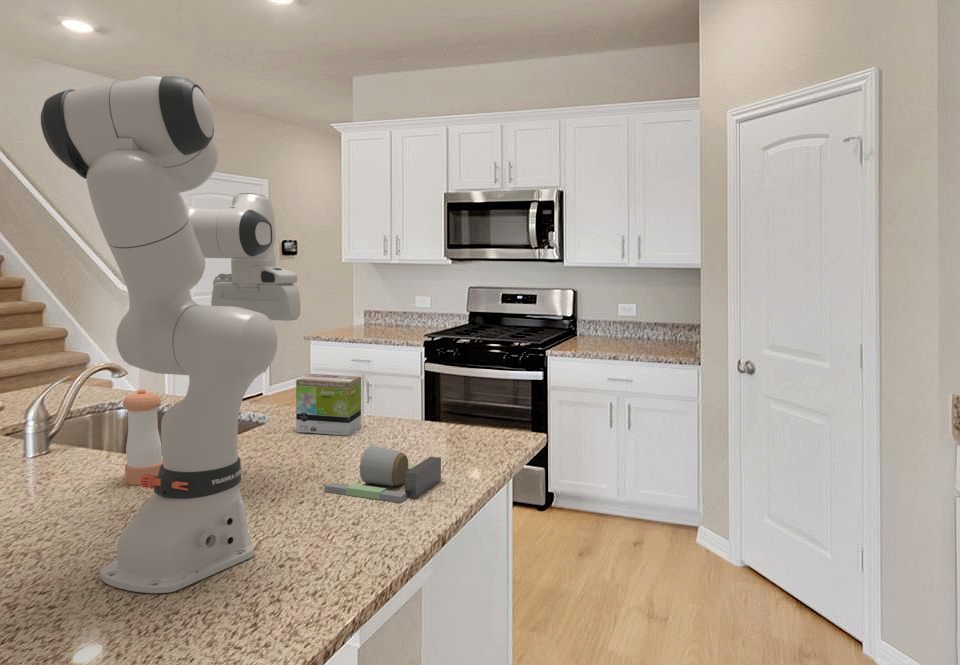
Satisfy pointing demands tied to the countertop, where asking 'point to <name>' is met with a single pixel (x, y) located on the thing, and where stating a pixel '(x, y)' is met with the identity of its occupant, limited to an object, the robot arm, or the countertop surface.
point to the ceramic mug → (383, 466)
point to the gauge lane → (367, 491)
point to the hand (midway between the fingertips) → (255, 340)
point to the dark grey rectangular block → (422, 477)
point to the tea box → (328, 404)
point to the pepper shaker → (142, 436)
